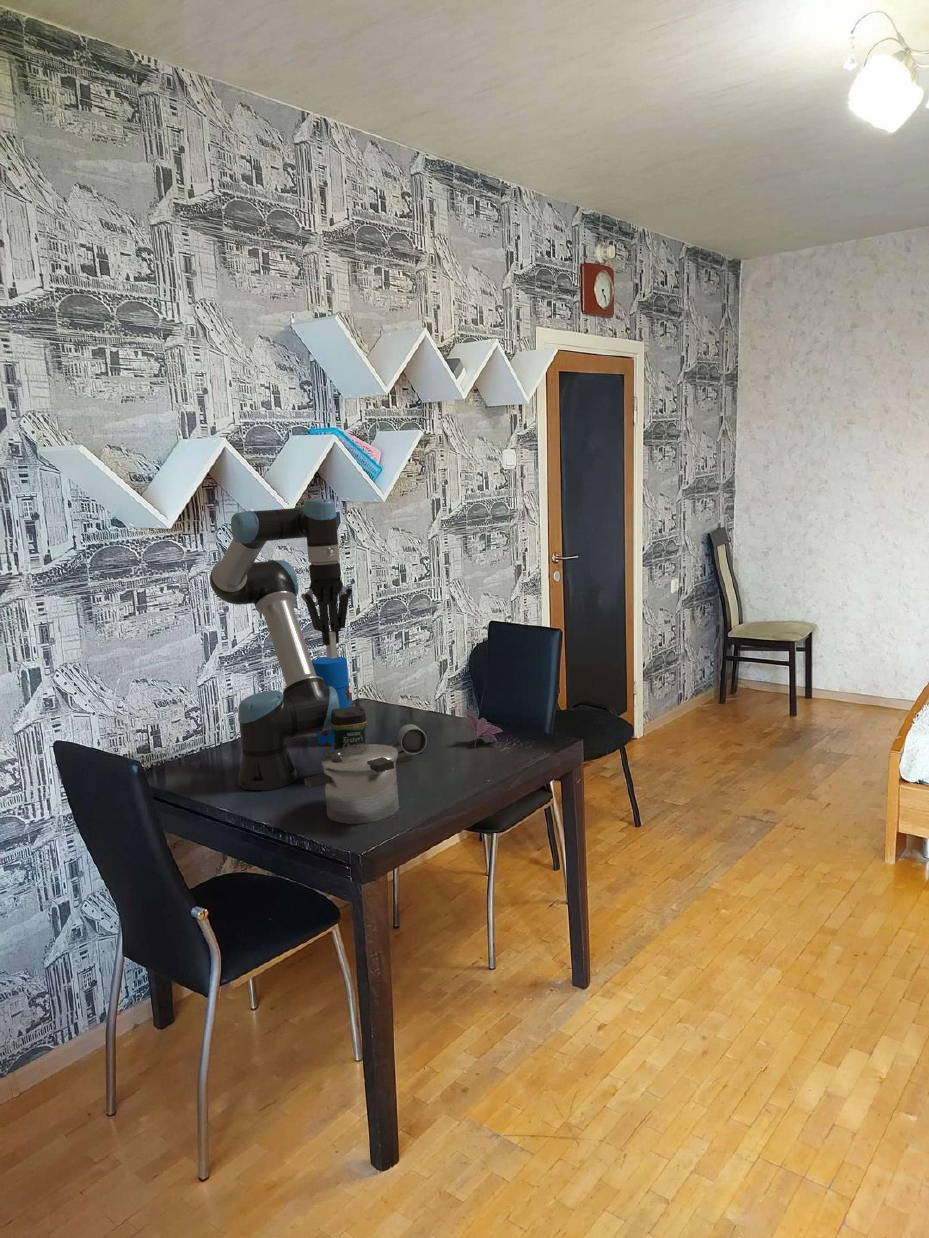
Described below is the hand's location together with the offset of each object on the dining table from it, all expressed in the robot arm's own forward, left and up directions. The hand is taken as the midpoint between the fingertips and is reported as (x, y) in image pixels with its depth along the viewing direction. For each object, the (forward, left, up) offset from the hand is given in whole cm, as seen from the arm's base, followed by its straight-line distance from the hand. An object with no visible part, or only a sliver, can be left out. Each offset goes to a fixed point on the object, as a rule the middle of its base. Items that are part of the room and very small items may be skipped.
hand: (332, 657), depth 219 cm
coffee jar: (-8, +7, -35) cm, 36 cm away
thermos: (-40, +18, -35) cm, 56 cm away
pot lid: (+18, -3, -22) cm, 29 cm away
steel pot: (+16, -3, -34) cm, 38 cm away
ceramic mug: (-15, +28, -35) cm, 47 cm away
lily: (-5, +48, -35) cm, 59 cm away
